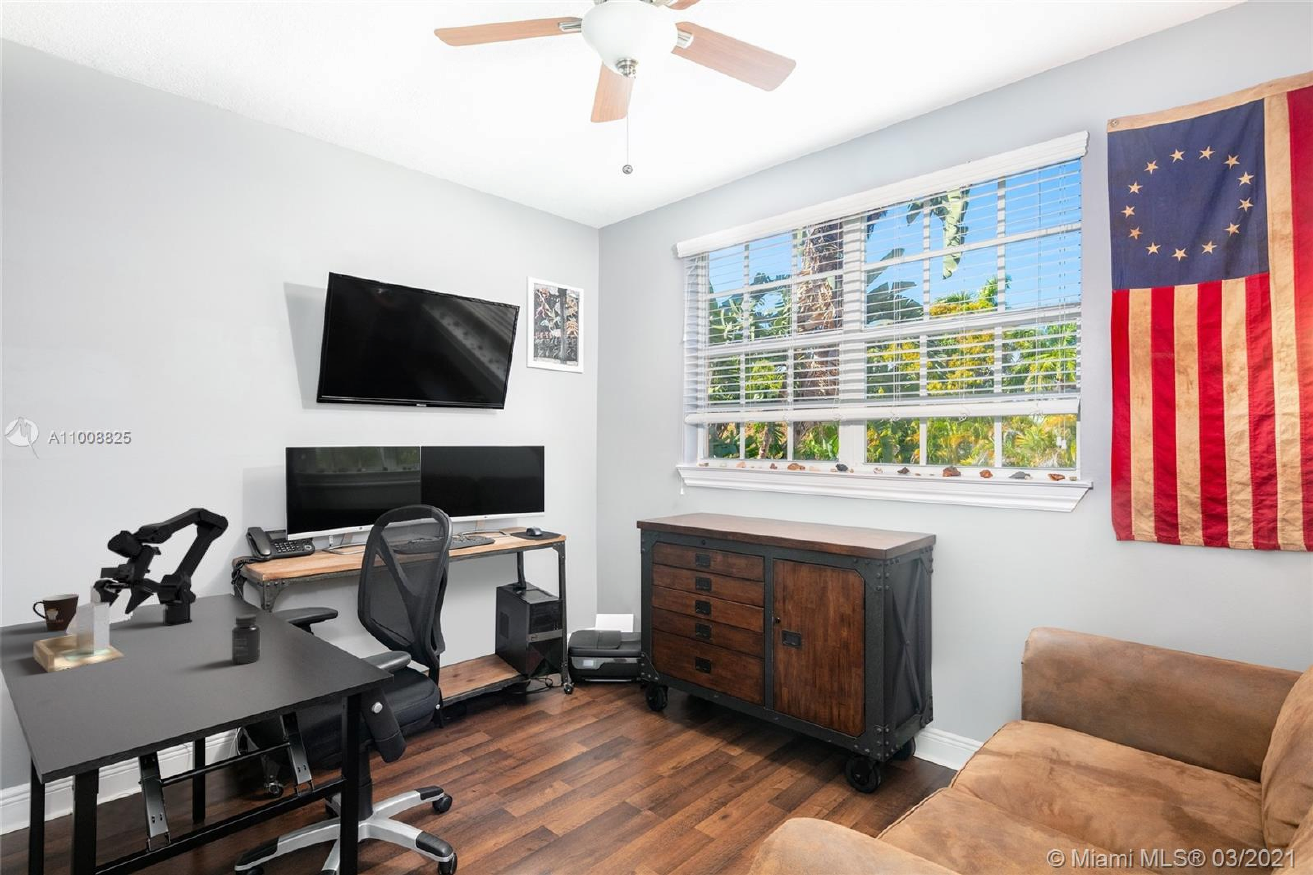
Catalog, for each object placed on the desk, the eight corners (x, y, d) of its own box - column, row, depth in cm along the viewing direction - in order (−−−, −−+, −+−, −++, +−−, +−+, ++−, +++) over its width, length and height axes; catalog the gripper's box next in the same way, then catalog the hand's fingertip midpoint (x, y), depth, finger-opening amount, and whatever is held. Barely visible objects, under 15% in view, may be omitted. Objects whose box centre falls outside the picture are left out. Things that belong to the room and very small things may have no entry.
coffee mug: (85, 626, 215) (85, 595, 215) (53, 633, 207) (53, 601, 207) (61, 623, 219) (61, 592, 219) (29, 630, 211) (29, 598, 211)
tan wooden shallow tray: (105, 644, 196) (105, 628, 196) (123, 657, 185) (123, 640, 185) (33, 657, 184) (33, 641, 184) (48, 672, 172) (48, 655, 172)
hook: (109, 616, 208) (101, 607, 203) (87, 654, 201) (78, 647, 195) (82, 612, 207) (73, 603, 201) (59, 650, 199) (49, 642, 194)
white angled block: (120, 613, 231) (120, 578, 231) (141, 616, 226) (141, 581, 226) (84, 621, 221) (84, 585, 221) (105, 625, 217) (105, 587, 217)
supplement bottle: (266, 658, 183) (266, 614, 183) (242, 666, 177) (242, 620, 177) (250, 655, 186) (250, 612, 186) (225, 662, 180) (225, 618, 180)
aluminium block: (92, 648, 190) (92, 602, 190) (109, 648, 190) (109, 602, 190) (76, 653, 185) (76, 606, 185) (93, 653, 185) (93, 606, 185)
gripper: (89, 554, 200) (62, 606, 192) (140, 552, 196) (114, 605, 188) (122, 568, 209) (97, 617, 201) (171, 566, 205) (148, 617, 197)
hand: (113, 614), depth 196 cm, fingers open, 9 cm apart
